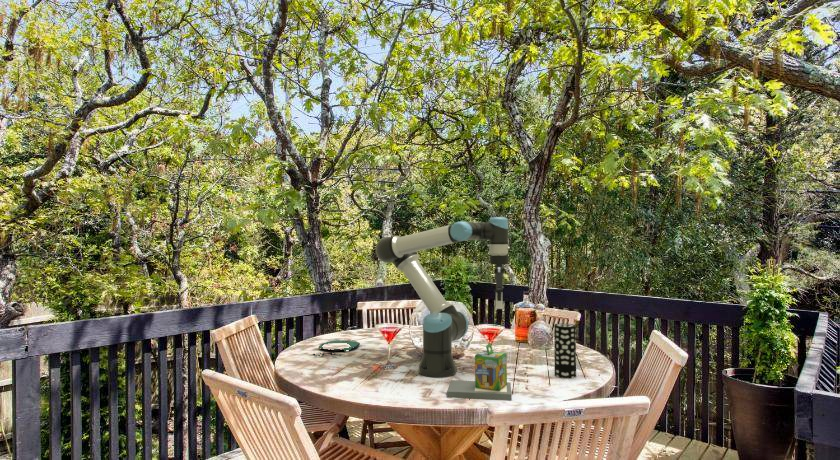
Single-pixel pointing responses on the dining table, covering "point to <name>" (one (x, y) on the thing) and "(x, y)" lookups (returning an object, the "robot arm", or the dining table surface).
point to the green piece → (351, 343)
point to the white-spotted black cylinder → (565, 350)
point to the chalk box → (490, 369)
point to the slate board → (477, 391)
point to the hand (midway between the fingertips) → (499, 306)
